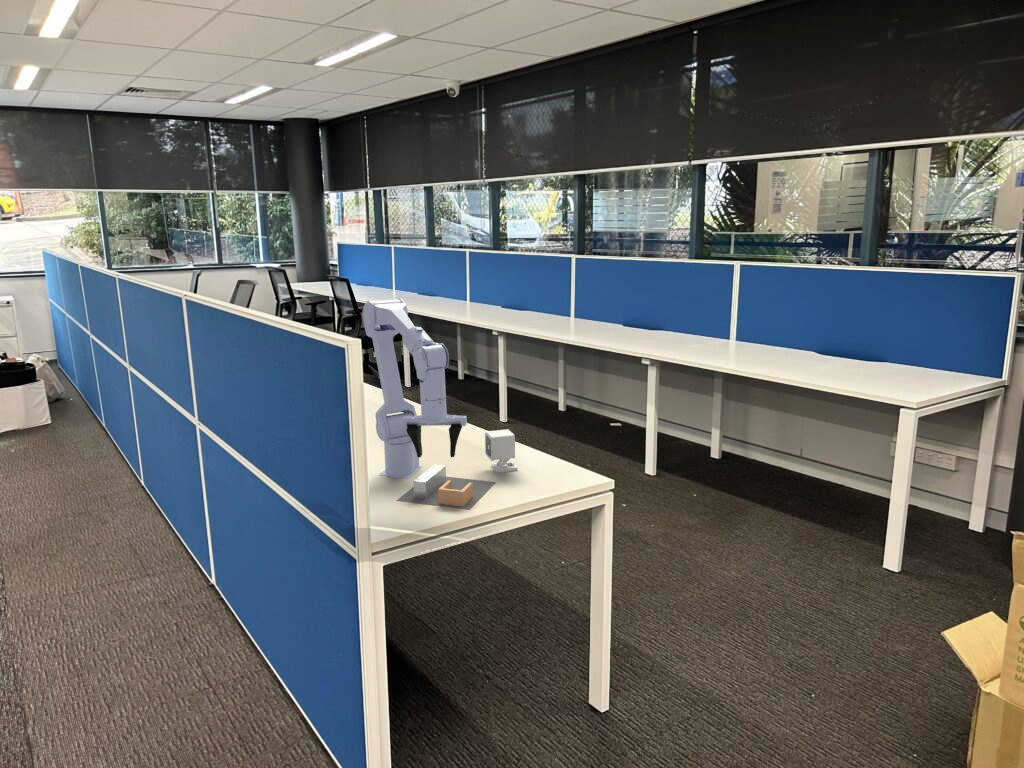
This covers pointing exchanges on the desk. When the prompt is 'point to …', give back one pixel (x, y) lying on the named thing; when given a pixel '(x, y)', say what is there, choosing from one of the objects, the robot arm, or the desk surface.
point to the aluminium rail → (429, 481)
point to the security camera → (500, 449)
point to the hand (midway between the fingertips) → (436, 456)
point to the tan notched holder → (455, 494)
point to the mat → (457, 483)
